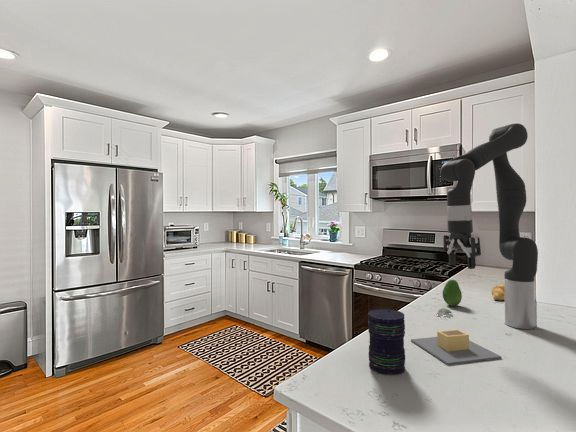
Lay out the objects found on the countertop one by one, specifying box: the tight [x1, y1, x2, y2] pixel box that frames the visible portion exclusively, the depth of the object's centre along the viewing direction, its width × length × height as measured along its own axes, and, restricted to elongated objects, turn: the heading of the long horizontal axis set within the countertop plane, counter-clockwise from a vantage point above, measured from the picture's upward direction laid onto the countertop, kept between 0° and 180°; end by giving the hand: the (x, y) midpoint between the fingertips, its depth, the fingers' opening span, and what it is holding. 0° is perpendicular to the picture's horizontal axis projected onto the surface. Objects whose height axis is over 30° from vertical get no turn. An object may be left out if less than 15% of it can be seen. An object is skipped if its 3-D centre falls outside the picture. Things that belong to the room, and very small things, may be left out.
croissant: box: [491, 283, 505, 301], centre depth 165 cm, size 21×10×8 cm, turn 129°
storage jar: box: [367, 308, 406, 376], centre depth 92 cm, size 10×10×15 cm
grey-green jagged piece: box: [435, 308, 454, 319], centre depth 135 cm, size 20×8×1 cm, turn 135°
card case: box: [436, 328, 470, 351], centre depth 104 cm, size 5×8×4 cm, turn 101°
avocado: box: [442, 279, 463, 307], centre depth 151 cm, size 8×8×12 cm
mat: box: [410, 336, 502, 366], centre depth 104 cm, size 18×18×1 cm
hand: (461, 266), depth 112 cm, fingers open, 8 cm apart
